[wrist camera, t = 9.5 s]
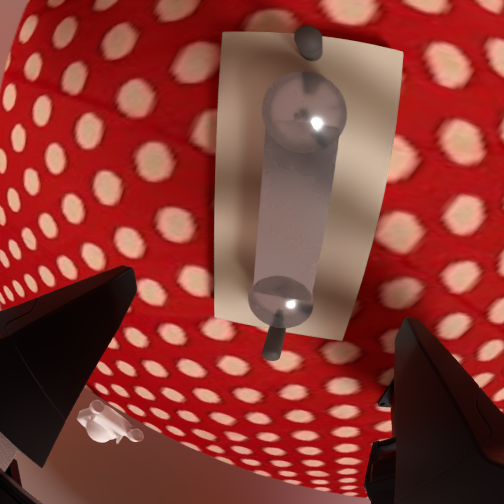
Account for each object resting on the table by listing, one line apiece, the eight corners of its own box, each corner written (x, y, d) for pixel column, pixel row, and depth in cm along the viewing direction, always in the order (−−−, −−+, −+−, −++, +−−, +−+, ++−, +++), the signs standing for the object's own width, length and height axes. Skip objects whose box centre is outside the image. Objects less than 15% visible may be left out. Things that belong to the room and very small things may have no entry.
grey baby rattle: (310, 309, 21) (307, 332, 19) (254, 299, 21) (246, 321, 19) (346, 81, 14) (350, 78, 11) (272, 73, 14) (264, 68, 12)
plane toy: (73, 406, 50) (60, 425, 45) (100, 390, 40) (83, 416, 35) (110, 435, 52) (99, 454, 47) (149, 427, 42) (135, 454, 37)
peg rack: (342, 327, 23) (341, 375, 19) (220, 305, 24) (199, 348, 20) (397, 55, 13) (422, 40, 9) (230, 36, 15) (198, 18, 10)
